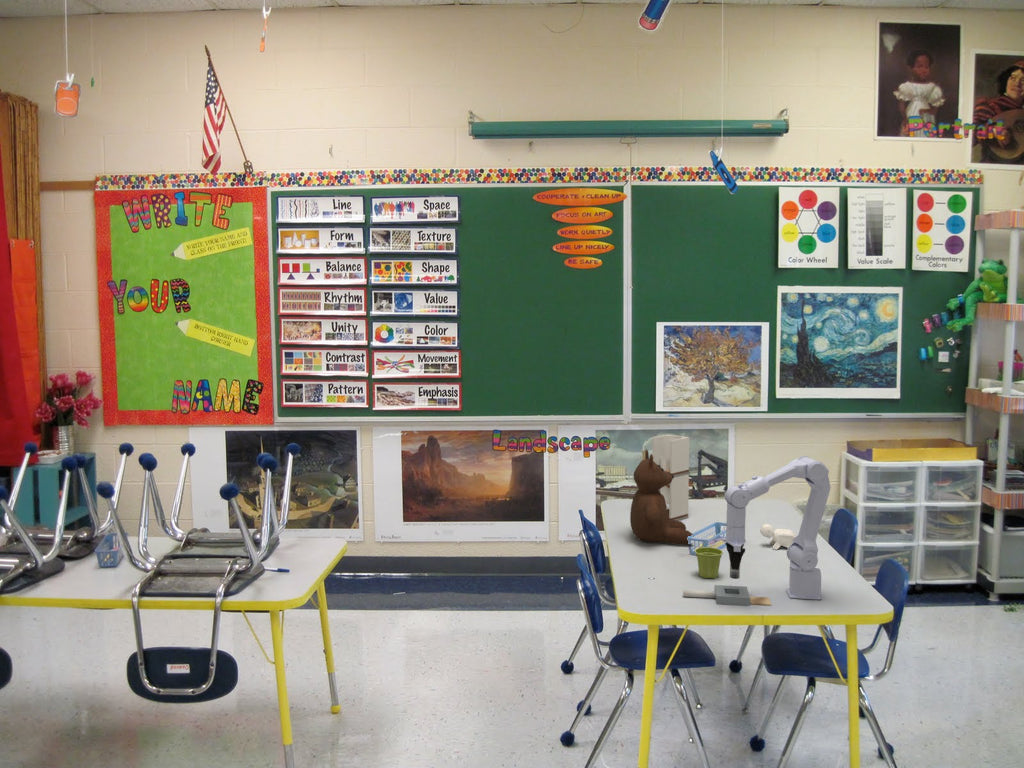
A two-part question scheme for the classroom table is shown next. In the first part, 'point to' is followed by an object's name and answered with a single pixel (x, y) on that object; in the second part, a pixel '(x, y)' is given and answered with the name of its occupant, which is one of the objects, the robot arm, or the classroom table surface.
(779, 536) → the white animal figurine
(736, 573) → the shiny metal cylinder
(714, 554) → the plant pot
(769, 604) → the pad
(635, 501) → the stuffed bear
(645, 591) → the classroom table surface
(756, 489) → the robot arm
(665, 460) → the white banded box
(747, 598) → the block
